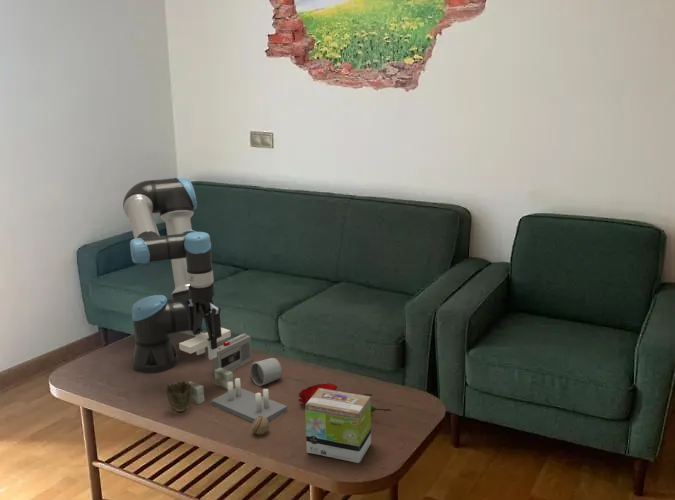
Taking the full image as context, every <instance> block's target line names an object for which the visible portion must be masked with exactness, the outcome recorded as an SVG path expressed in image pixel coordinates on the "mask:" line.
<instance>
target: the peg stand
mask: <svg viewBox="0 0 675 500" xmlns="http://www.w3.org/2000/svg"><path fill="white" fill-rule="evenodd" d="M233 382H234V387H233ZM233 382H228V383H227V385H228V389H227V392H225V393H224V394H221V395H219V396H217V397H215V398H212V399H211V400H210V401H211V403H210V404H211V405H212V406H213V407H216V408H218V409H220V410H222V411H225V412H227V413H230V414H232V415H234V416H237V417H238V418H241V419H243V420H246V421H248V422H250V423H252V424H253V422H254V420H255V419H256V417H258V416H264V417H265V418H267V420H268V422H270V421H273V420H274V419H276V418H277V417H280V415H283V414H285V413H286V412H288V405H285V404H283V403H280V402H277V401H275V400H272V399H270V396H269V389H268V388H263V389H262V394H261V392H256V393H254V392H252V391H250V390H247V389H245V388H242V387H241V378H240V377H237V378H234V381H233Z"/></svg>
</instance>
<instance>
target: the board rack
mask: <svg viewBox="0 0 675 500" xmlns="http://www.w3.org/2000/svg"><path fill="white" fill-rule="evenodd" d="M214 372H215V375H214V380H215V381H214V382H215V385H216V386H218V387H221V388H223V389H226V390H228V385H227V383H228V382H233V388H235V381H234V372H233V371H228V370H225V369H223V368H218V369H216V370H214ZM214 372H213V373H214ZM188 382H189V384H190V383H191V401H190V402H192V403H194V404H197V405H200V404H202V403H204V402H205V391H204V386H203V385H201V384H198V383H196V382H194V381H191V380H190V381H187V382H186V383H188Z"/></svg>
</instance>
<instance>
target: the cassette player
mask: <svg viewBox="0 0 675 500" xmlns="http://www.w3.org/2000/svg"><path fill="white" fill-rule="evenodd" d="M252 360H253V356H252V339H251V335H247V334H246V333H242V334H239V335H238V336H235V337H233V338H231V339H229V340H227V341H225V342H223V344H221V345H219V346H217V357H216V358H213V359H211V361H212V370H213V376H215V372H214V370H216V369H218V368H223V369H225V370H228V371H230V372H233V371H234V370H236V369H238V368H240V367H242V366H244V365H246V364H247V363H249V362H251V361H252Z"/></svg>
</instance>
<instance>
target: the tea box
mask: <svg viewBox="0 0 675 500" xmlns="http://www.w3.org/2000/svg"><path fill="white" fill-rule="evenodd" d="M371 400H372V396H365V395H364V394H357V393H354V392H353V393H351V392H346V391H340V390H336V391H334V390H329V389H322V388H319V389H318V390H317V391H316V392H315V394H314V395H313V396H312V397H311V398H310V400H309V401H308V402H307V403H304V413H305V414H304V416H305V442H306V443H305V444H306V453H307V454H314V455H318V456H324V457H328V458H333V459H338V460H343V461H346V462H347V461H348V462H351V463H356V464H359V463H360V462H361V461H362V459H363V458H364V456H365V454H366V453H367V451H368V449H369V447H370V446H371V444H372V413H371V406H372V403H371V402H372V401H371Z"/></svg>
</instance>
